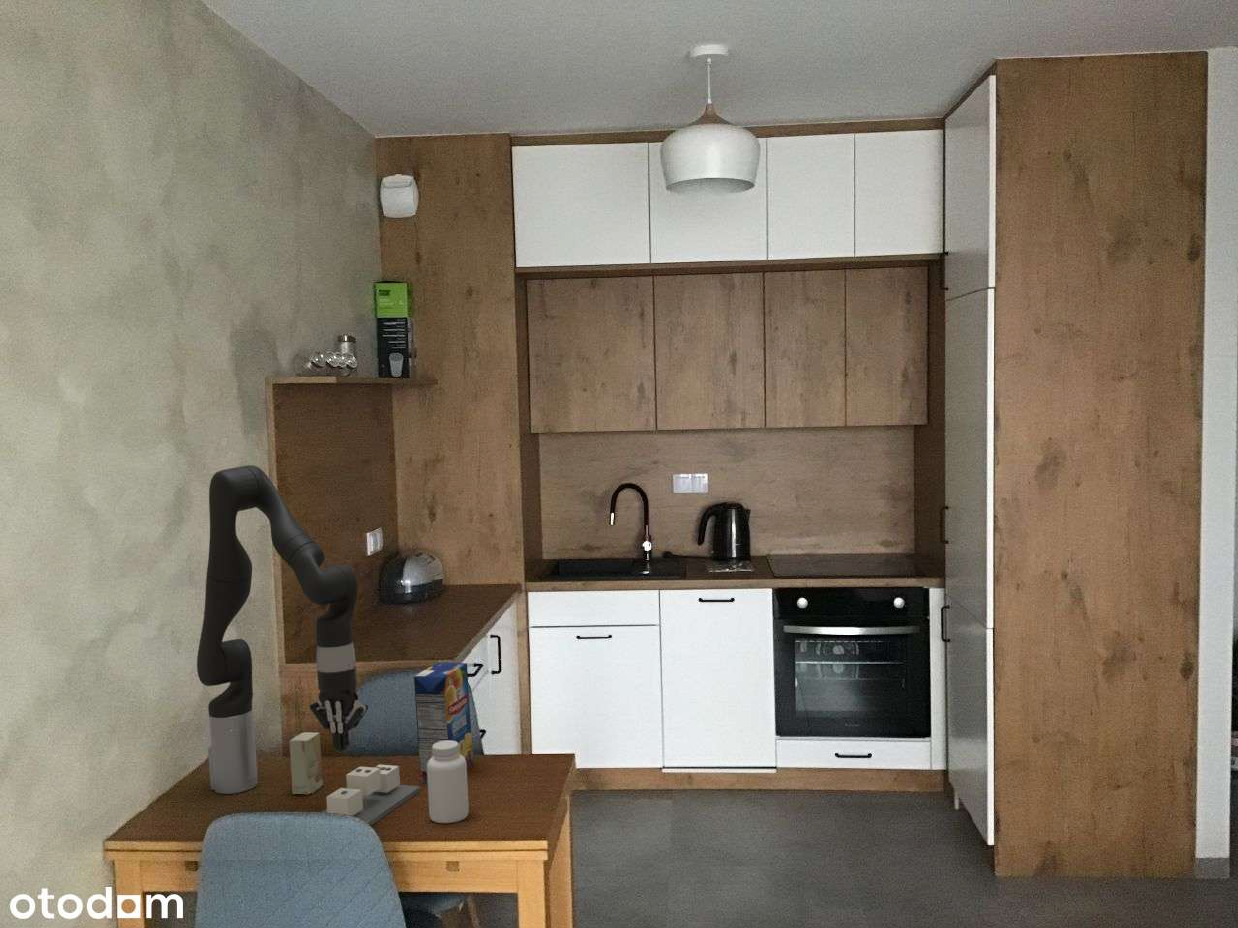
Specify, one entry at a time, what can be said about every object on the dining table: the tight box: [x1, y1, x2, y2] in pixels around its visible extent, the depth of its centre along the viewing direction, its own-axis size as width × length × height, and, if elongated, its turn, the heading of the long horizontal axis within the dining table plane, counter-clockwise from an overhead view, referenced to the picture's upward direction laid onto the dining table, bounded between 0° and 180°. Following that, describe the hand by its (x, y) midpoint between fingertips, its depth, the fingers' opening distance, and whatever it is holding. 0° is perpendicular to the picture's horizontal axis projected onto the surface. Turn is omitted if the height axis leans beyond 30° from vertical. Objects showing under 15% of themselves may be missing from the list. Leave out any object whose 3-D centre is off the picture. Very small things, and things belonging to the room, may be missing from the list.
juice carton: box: [413, 662, 474, 784], centre depth 234 cm, size 12×8×24 cm, turn 164°
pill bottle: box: [427, 740, 470, 824], centre depth 209 cm, size 8×8×15 cm
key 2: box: [345, 766, 381, 796], centre depth 216 cm, size 5×5×4 cm
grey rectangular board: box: [321, 784, 421, 826], centre depth 217 cm, size 13×22×1 cm, turn 160°
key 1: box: [325, 787, 363, 816], centre depth 210 cm, size 5×5×4 cm
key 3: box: [373, 764, 401, 793], centre depth 223 cm, size 5×5×4 cm
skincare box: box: [289, 731, 324, 795], centre depth 229 cm, size 6×4×12 cm
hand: (341, 749), depth 210 cm, fingers closed
